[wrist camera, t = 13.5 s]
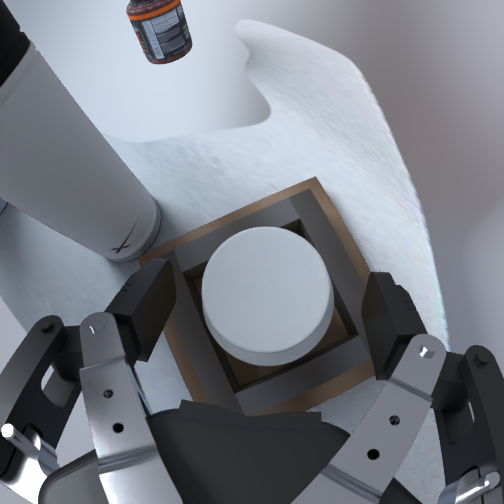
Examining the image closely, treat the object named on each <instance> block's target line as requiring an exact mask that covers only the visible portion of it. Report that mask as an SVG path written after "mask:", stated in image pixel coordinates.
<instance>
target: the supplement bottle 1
mask: <svg viewBox="0 0 504 504" xmlns="http://www.w3.org/2000/svg"><path fill="white" fill-rule="evenodd" d="M127 15H128V17H129V19H130V22H131V24H132V26H133V29H134V31H135V33H136V35H137V37H138V39H139V42H140V44H141V46H142V49H143V51H144V53H145V56H146V57H147V59H148V60H149V62H151V63H153V64H166V63H170V62H173V61H176V60H178V59H180V58H182V57H183V56H185V55H186V54H187V53H188V52H189V51H190V50H191V48H192V40H191V36H190V33H189V29H188V25H187V22H186V18H185V15H184V12H183V8H182V5H181V1H180V0H131V1H130V3H129V4H128V6H127Z"/></svg>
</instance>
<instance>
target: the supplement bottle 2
mask: <svg viewBox="0 0 504 504" xmlns="http://www.w3.org/2000/svg"><path fill="white" fill-rule="evenodd" d="M202 306H203V313H204V318H205V321H206V324H207V326H208V328H209V330H210V332H211V334H212V336H213V337H214V339H215V340H216V341H217V343H218V344H219V345H220V346H221V347H222V348H223V349H224V350H226V351H227V352H228V353H229V354H231V355H232V356H234V357H236V358H237V359H239V360H242V361H244V362H247V363H250V364H254V365H260V366H276V365H282V364H286V363H289V362H292V361H294V360H297V359H299V358H301V357H302V356H304V355H305V354H307V353H308V352H309V351H311V350H312V349H313V348H314V347H315V346H316V345H317V344H318V343H319V341H320V340H321V339H322V337H323V336H324V334H325V333H326V331H327V329H328V327H329V324H330V322H331V318H332V314H333V309H334V292H333V286H332V282H331V279H330V276H329V274H328V271H327V269H326V266H325V264H324V262H323V260H322V258H321V256H320V255H319V253H318V252H317V250H316V249H315V248H314V247H313V246H312V245H311V244H310V243H309V242H308V241H306V240H305V239H304V238H302V237H301V236H299V235H297V234H295V233H293V232H291V231H288V230H285V229H281V228H277V227H255V228H250V229H247V230H244V231H241V232H239V233H237V234H235V235H233V236H232V237H230V238H228V239H227V240H226V241H225V242H224V243H222V244H221V245H220V246H219V247H218V249H217V250H216V251H215V252H214V253H213V255H212V257H211V258H210V260H209V262H208V264H207V266H206V269H205V272H204V275H203V279H202Z"/></svg>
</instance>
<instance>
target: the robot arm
mask: <svg viewBox="0 0 504 504" xmlns="http://www.w3.org/2000/svg"><path fill="white" fill-rule="evenodd" d="M6 203H7V201H5V200H3V199H2V198H0V213H1V212H2V210H3V209H4V207H5V205H6ZM176 296H177V293H176V286H175V280H174V274H173V268H172V263H171V261H170V260H165V259H151V260H150V262H149V263H148V264H147V266H146V267H145V268H144V270H141V269H140V270H139V271H137V272H136V273H134V274H133V275H131V276H130V278H129V279H128V280H127V281H126V283H125V285H123V287H122V288H121V289H120V292H118V293H117V295H116V296H115V298H114V299H113V300H112V302H111V303H110V304H109V306H108V307H107V308H106V310H105V311H104V312H98V313H94V314H92V315H90V316H88V317H87V318H85V319H84V320H83V322H82V323H81V325H80V326H64V324H63V322H62V320H61V318H60V317H58V316H55V315H50V316H46V317H44V318H42V319H40V320H39V321H38V322H37V323H36V324H35V325H34V326H33V328H32V329H31V330H30V332H29V333H28V334H27V336H26V337H25V338H24V340H23V341H22V343H21V344H20V346H19V347H18V348H17V350H16V351H15V353H14V354H13V356H12V357H11V359H10V360H9V362H8V363H7V365H6V367H5V368H4V369H3V371H2V372H1V374H0V484H2V485H3V486H5V487H7V488H8V489H10V490H14V491H15V492H17V493H19V494H20V495H22V496H24V497H25V498H27V499H28V500H30V501H31V502H33V503H35V504H422V503H421V502H420V501H419V500H418V499H417V498H416V497H414V496H413V495H412V494H411V493H410V492H409V491H408V490H407V489H406V488H405V487H404V486H403V485H402V484H401V483H400V482H399V481H398V480H396V479H395V478H394V475H395V473H396V472H397V470H398V468H399V467H400V465H401V463H402V462H403V460H404V458H405V456H406V455H407V453H408V451H409V449H410V447H411V445H412V444H413V442H414V440H415V438H416V436H417V434H418V432H419V430H420V428H421V426H422V424H423V421H424V419H425V417H426V415H427V413H428V411H429V408H433V409H434V414H435V419H436V423H437V429H438V434H439V440H440V446H441V452H442V459H443V466H444V474H445V483H446V487H445V488H444V490H443V491H442V492H441V494H440V496H439V499H438V503H437V504H504V378H503V376H502V373H501V371H500V368H499V366H498V364H497V362H496V360H495V357H494V356H493V354H492V353H491V352H490V351H489V350H488V349H486V348H485V347H483V346H479V345H474V346H471V347H469V349H467V351H466V353H465V354H464V355H461V354H456V353H452V352H447V351H446V349H445V346H444V345H443V343H442V342H441V341H440V340H439V339H437V338H436V337H434V336H432V335H428V333H427V331H426V329H425V327H424V324H423V322H422V320H421V318H420V316H419V313H418V311H416V307H415V305H414V303H413V301H412V299H411V297H410V295H409V293H408V292H407V291H406V290H405V289H404V288H403V287H402V286H401V285H395V282H394V280H393V278H392V276H391V274H390V273H389V272H371V273H370V275H369V278H368V282H367V286H366V290H365V294H364V298H363V301H362V307H361V316H362V321H363V324H364V328H365V332H366V336H367V340H368V345H369V349H370V353H371V357H372V362H373V366H374V371H375V376H376V380H387V383H386V385H385V386H384V388H383V389H382V391H381V393H380V394H379V396H378V397H377V399H376V400H375V402H374V403H373V405H372V406H371V408H370V409H369V411H368V412H367V414H366V415H365V417H364V418H363V419H362V421H361V422H360V424H359V425H358V426H357V428H356V429H355V431H354V432H353V433H352V435H350V434H349V433H348V432H346V431H345V430H343V429H341V428H339V427H337V426H335V425H332V424H329V423H326V422H322V421H321V412H291V411H285V412H279V413H273V414H266V415H259V416H245V415H242V414H239V413H236V412H233V411H231V410H228V409H225V408H222V407H219V406H217V405H213V404H206V403H200V402H194V401H188V400H182V401H181V404H180V407H179V408H178V409H169V410H164V411H160V412H157V413H154V414H153V413H152V411H151V409H150V406H149V404H148V402H147V399H146V396H145V394H144V391H143V389H142V386H141V383H140V380H139V378H138V375H137V372H136V369H135V367H134V365H135V363H136V361H137V360H139V361H144V362H148V360H149V358H150V355H151V353H152V351H153V349H154V347H155V345H156V343H157V341H158V339H159V336H160V334H161V332H162V330H163V328H164V326H165V324H166V322H167V320H168V318H169V316H170V314H171V312H172V310H173V308H174V305H175V303H176ZM50 364H51V366H52V367H53V369H54V371H53V373H52V375H51V377H50V378H49V380H48V382H47V384H46V386H45V388H44V389H43V391H42V388H41V381H42V378H43V376H44V375H45V373H46V371H47V369H48V368H49V366H50ZM81 390H82V392H83V397H84V402H85V407H86V412H87V416H88V421H89V425H90V430H91V434H92V438H93V441H94V445H95V449H94V450H92V451H91V452H88V453H87V454H85V455H83V456H81V457H80V458H78V459H76V460H74V461H72V462H70V463H69V464H67V465H65V466H63V467H61V468H60V467H59V464H58V463H57V455H56V452H55V449H56V447H57V444H58V442H59V439H60V437H61V435H62V432H63V430H64V428H65V425H66V423H67V421H68V418H69V416H70V414H71V412H72V410H73V407H74V405H75V403H76V401H77V398H78V397H79V395H80V392H81ZM469 402H471V406H472V409H473V413H474V418H475V419H474V423H473V419H472V415H471V412H470V408H469V405H468V403H469Z"/></svg>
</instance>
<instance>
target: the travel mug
mask: <svg viewBox="0 0 504 504" xmlns="http://www.w3.org/2000/svg"><path fill="white" fill-rule="evenodd" d="M19 29H20V26H19V24H18V23H17V21H16V20H15V19H14V17H13V15H12V14H11V12H10V11H9V9H8V8H7V6H6V5H5V3H4V2H3V0H0V198H2V199H3V200H5V201H7V202H8V203H10V204H11V205H13V206H15V207H16V208H18V209H19V210H21V211H23V212H24V213H26V214H28V215H29V216H31V217H33V218H35V219H36V220H38V221H40V222H41V223H43V224H45V225H47V226H48V227H50V228H52V229H54V230H55V231H57V232H59V233H61V234H62V235H64V236H66V237H68V238H70V239H72V240H73V241H75V242H77V243H79V244H81V245H83V246H85V247H86V248H88V249H90V250H92V251H94V252H96V253H98V254H100V255H102V256H104V257H106V258H108V259H109V260H112V261H115V262H126V261H131V260H133V259H135V258H137V257H139V256H140V255H142V254H143V253H144V252H145V251H146V250H147V249H148V248H149V247H150V246H151V244H152V243H153V242H154V240H155V238H156V236H157V234H158V231H159V228H160V221H161V215H160V209H159V206H158V204H157V202H156V200H155V199H154V198H153V197H152V195H151V194H150V193H149V192H148V191H147V190H146V188H145V187H144V186H143V185H142V184H141V182H140V181H139V180H138V179H137V178H136V176H135V175H134V174H133V173H132V172H131V170H130V169H129V168H128V167H127V165H126V164H125V163H124V162H123V161H122V159H121V158H120V157H119V156H118V154H117V153H116V152H115V151H114V149H113V148H112V147H111V146H110V145H109V143H108V142H107V141H106V140H105V138H104V137H103V136H102V134H101V133H100V132H99V131H98V129H97V128H96V127H95V126H94V124H93V123H92V122H91V121H90V119H89V118H88V117H87V116H86V114H85V113H84V112H83V110H82V109H81V108H80V106H79V105H78V104H77V103H76V101H75V100H74V98H73V97H72V96H71V95H70V93H69V92H68V91H67V89H66V88H65V87H64V85H63V84H62V83H61V81H60V80H59V79H58V77H57V76H56V74H55V73H54V72H53V70H52V69H51V68H50V66H49V65H48V63H47V62H46V61H45V59H44V58H43V56H42V55H41V54H40V52H39V51H37V50H35V48H36V47H35V45H34V44H33V42H32V41H31V40H30V39H28V38H27V36H26V35H25V33H24V32H20V30H19Z"/></svg>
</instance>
